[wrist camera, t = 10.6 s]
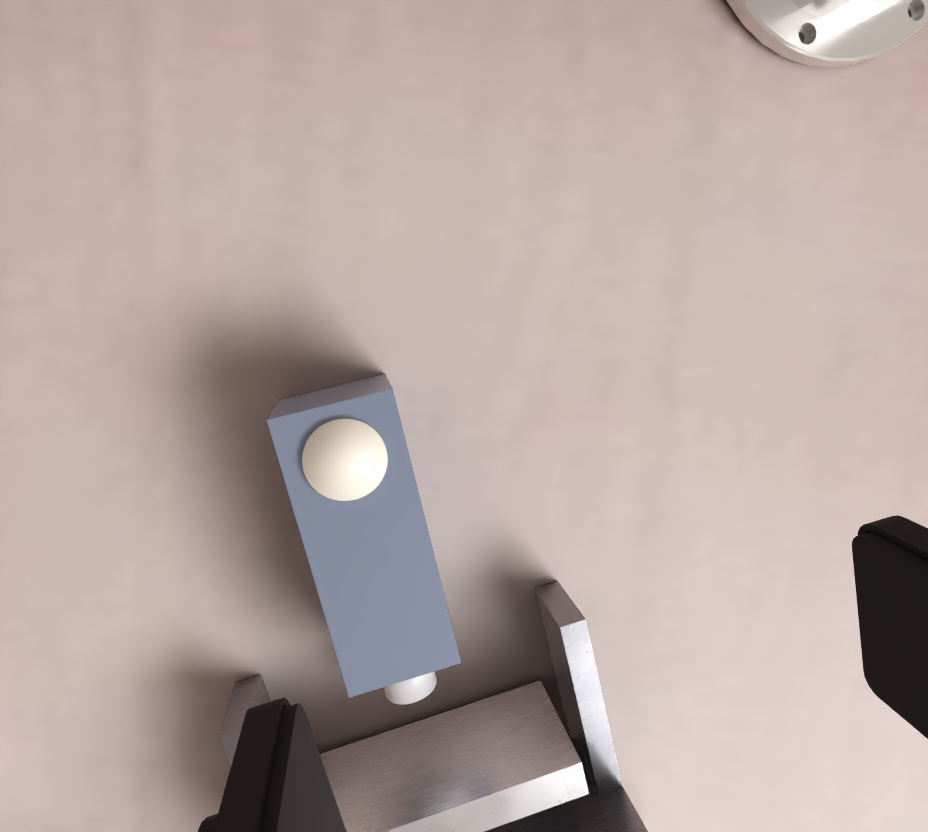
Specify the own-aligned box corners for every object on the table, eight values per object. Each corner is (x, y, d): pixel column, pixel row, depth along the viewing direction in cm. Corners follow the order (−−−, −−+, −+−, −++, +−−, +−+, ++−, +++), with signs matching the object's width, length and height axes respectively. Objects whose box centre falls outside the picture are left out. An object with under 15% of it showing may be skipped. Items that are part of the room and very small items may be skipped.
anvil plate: (253, 776, 31) (232, 885, 26) (540, 680, 33) (581, 762, 27) (263, 803, 32) (245, 917, 26) (547, 707, 33) (589, 793, 28)
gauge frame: (234, 682, 31) (197, 812, 23) (557, 581, 33) (622, 669, 25) (298, 858, 33) (284, 1030, 25) (596, 753, 35) (667, 883, 27)
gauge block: (384, 373, 30) (392, 389, 25) (452, 643, 33) (472, 706, 28) (279, 399, 29) (266, 421, 24) (358, 671, 32) (361, 742, 27)
